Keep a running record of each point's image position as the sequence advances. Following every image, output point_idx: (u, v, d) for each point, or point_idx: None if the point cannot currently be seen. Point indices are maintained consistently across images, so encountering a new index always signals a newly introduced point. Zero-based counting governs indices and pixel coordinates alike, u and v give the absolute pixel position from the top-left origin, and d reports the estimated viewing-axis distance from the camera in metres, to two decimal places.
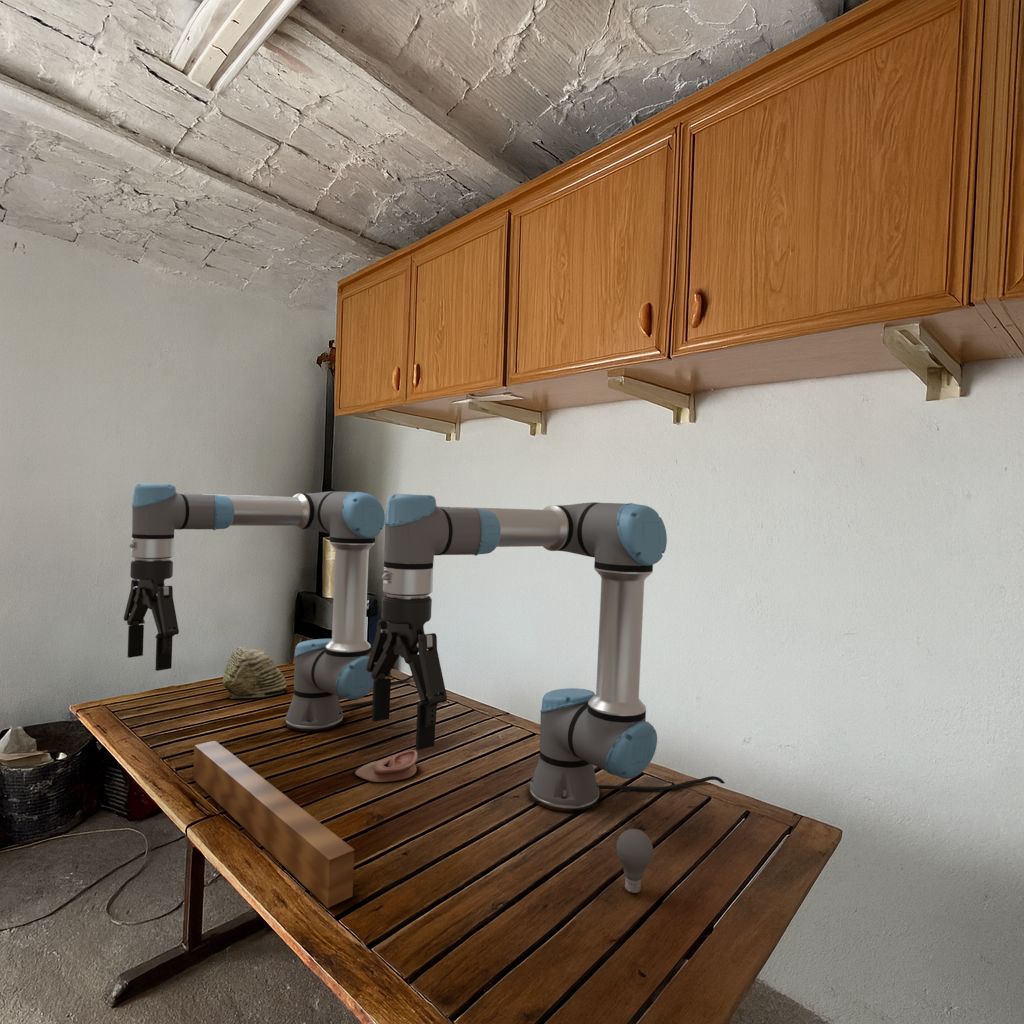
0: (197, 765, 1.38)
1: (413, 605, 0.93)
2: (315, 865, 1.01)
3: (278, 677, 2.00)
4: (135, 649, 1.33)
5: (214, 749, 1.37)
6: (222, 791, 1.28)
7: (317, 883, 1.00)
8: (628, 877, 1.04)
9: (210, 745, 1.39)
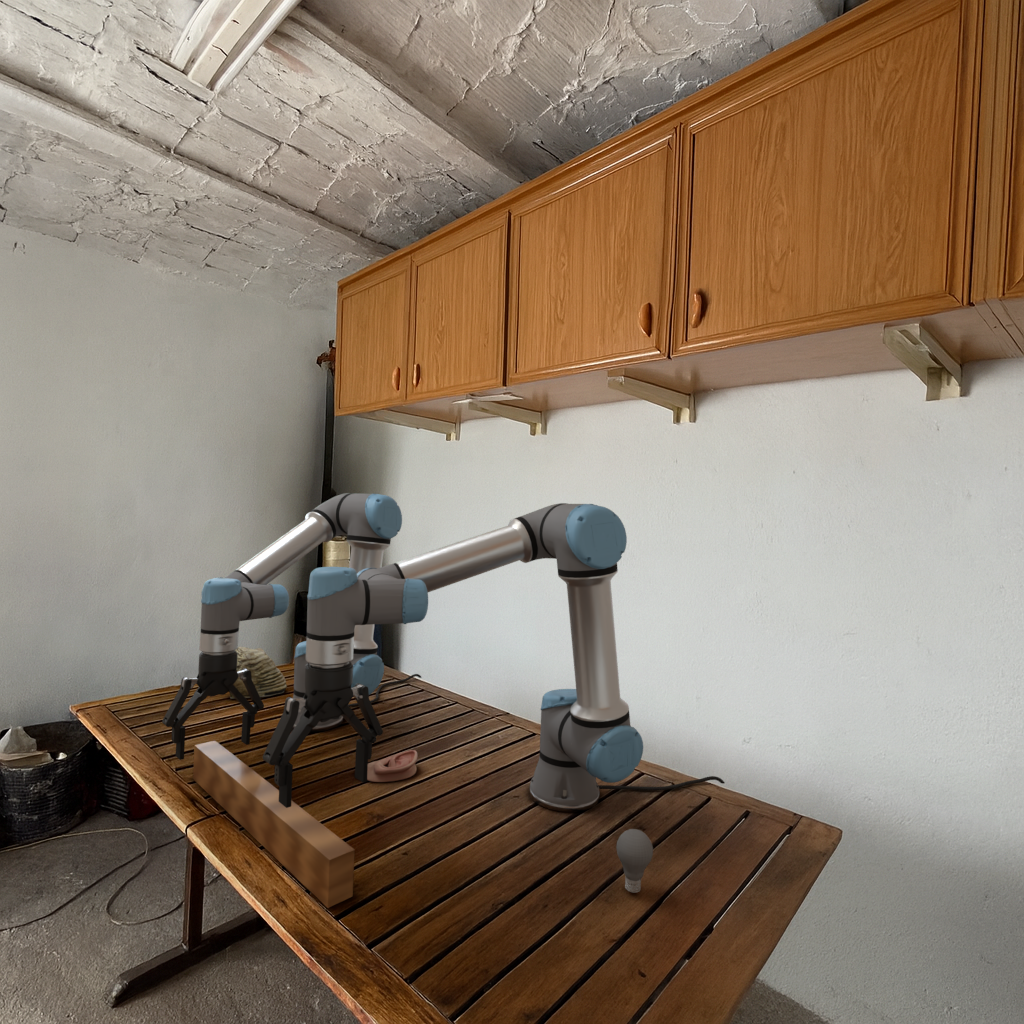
0: (197, 765, 1.38)
1: None
2: (315, 865, 1.01)
3: (278, 677, 2.00)
4: None
5: (214, 749, 1.37)
6: (222, 791, 1.28)
7: (317, 883, 1.00)
8: (628, 877, 1.04)
9: (210, 745, 1.39)
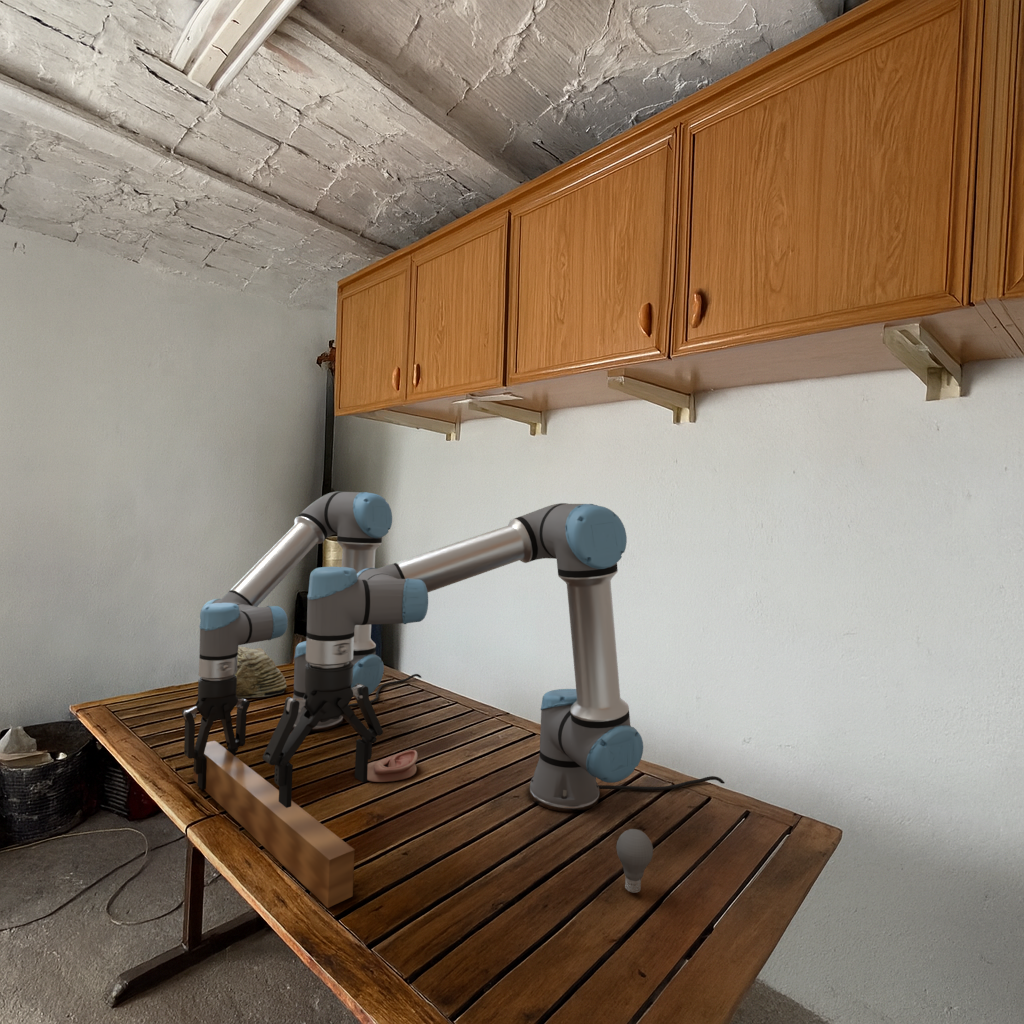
0: None
1: None
2: (315, 865, 1.01)
3: (278, 677, 2.00)
4: None
5: (214, 749, 1.37)
6: (222, 791, 1.28)
7: (317, 883, 1.00)
8: (628, 877, 1.04)
9: (210, 745, 1.39)
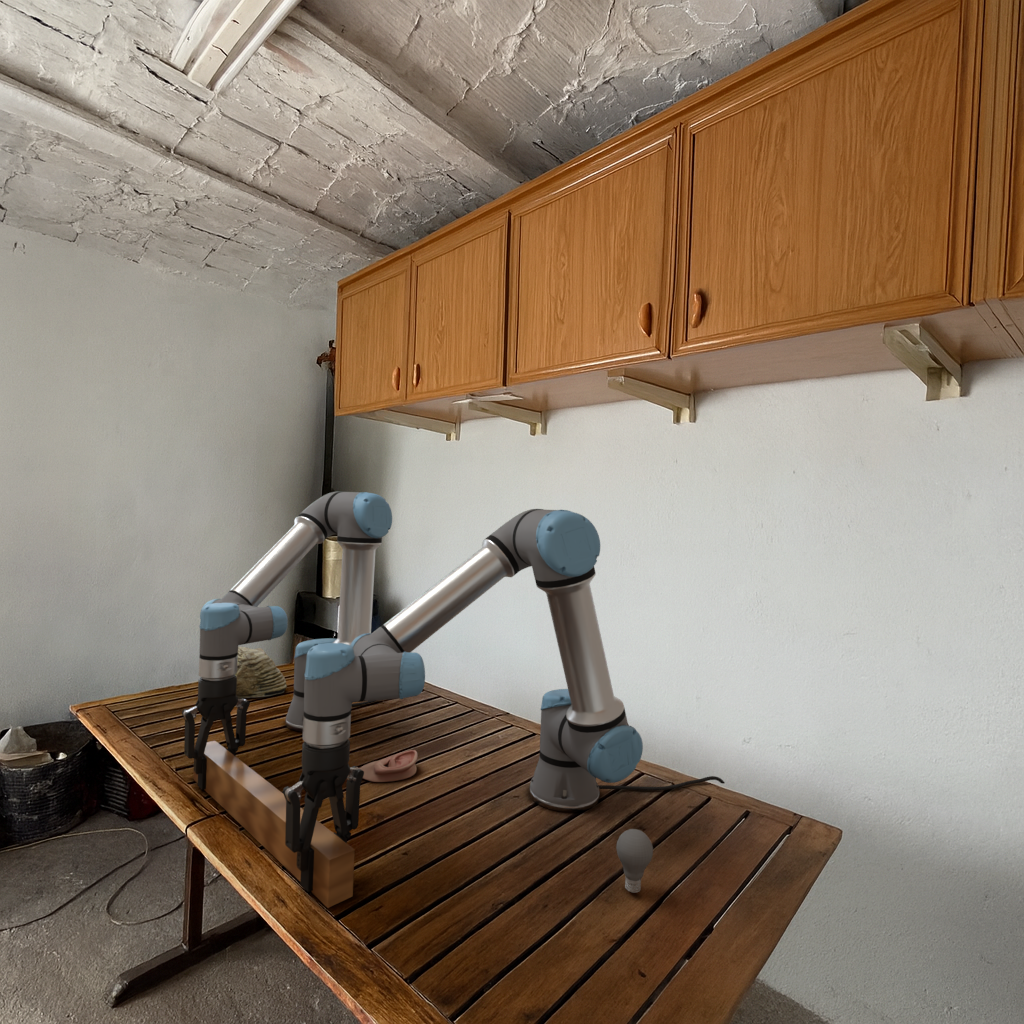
0: None
1: None
2: (315, 865, 1.01)
3: (278, 677, 2.00)
4: None
5: (214, 749, 1.37)
6: (222, 791, 1.28)
7: (317, 883, 1.00)
8: (628, 877, 1.04)
9: (210, 745, 1.39)
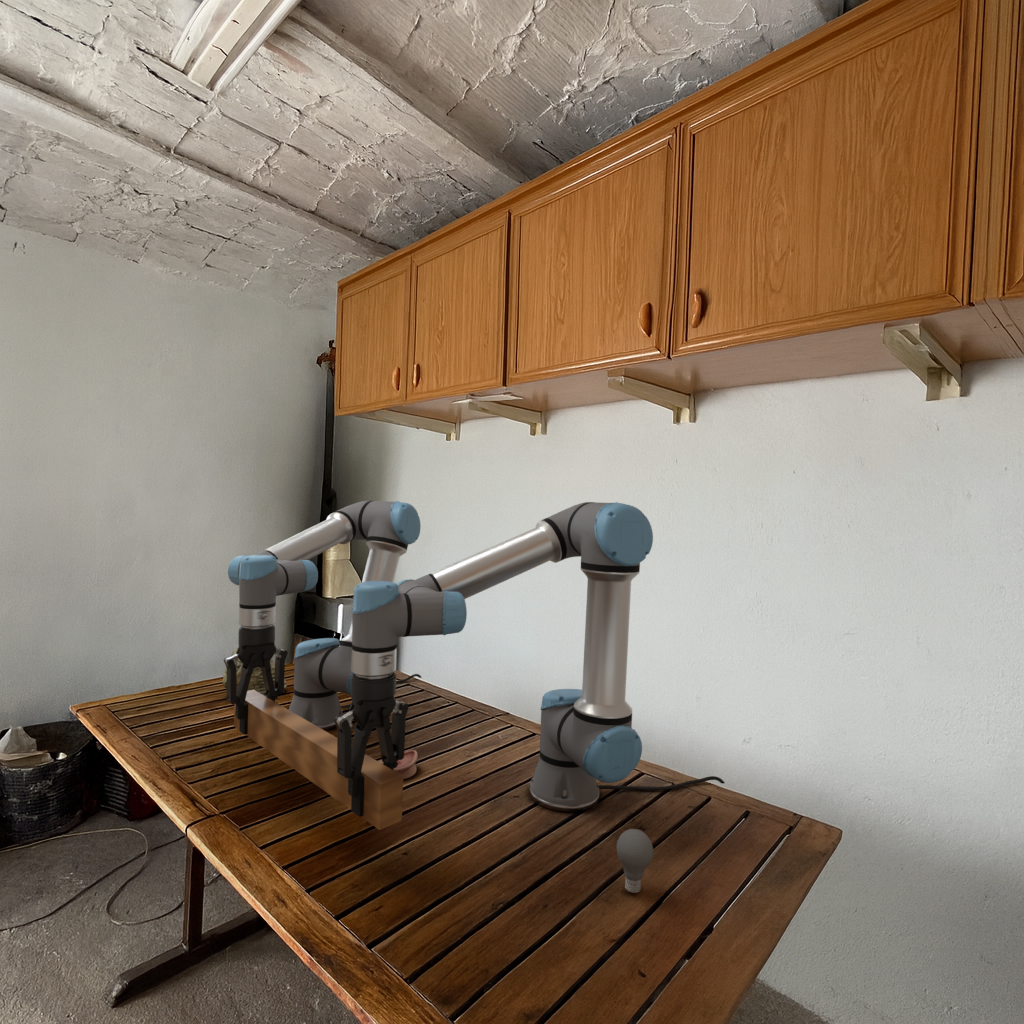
0: None
1: None
2: (366, 791, 1.05)
3: None
4: None
5: (254, 696, 1.42)
6: (265, 734, 1.32)
7: (368, 807, 1.05)
8: (628, 877, 1.04)
9: (250, 694, 1.43)
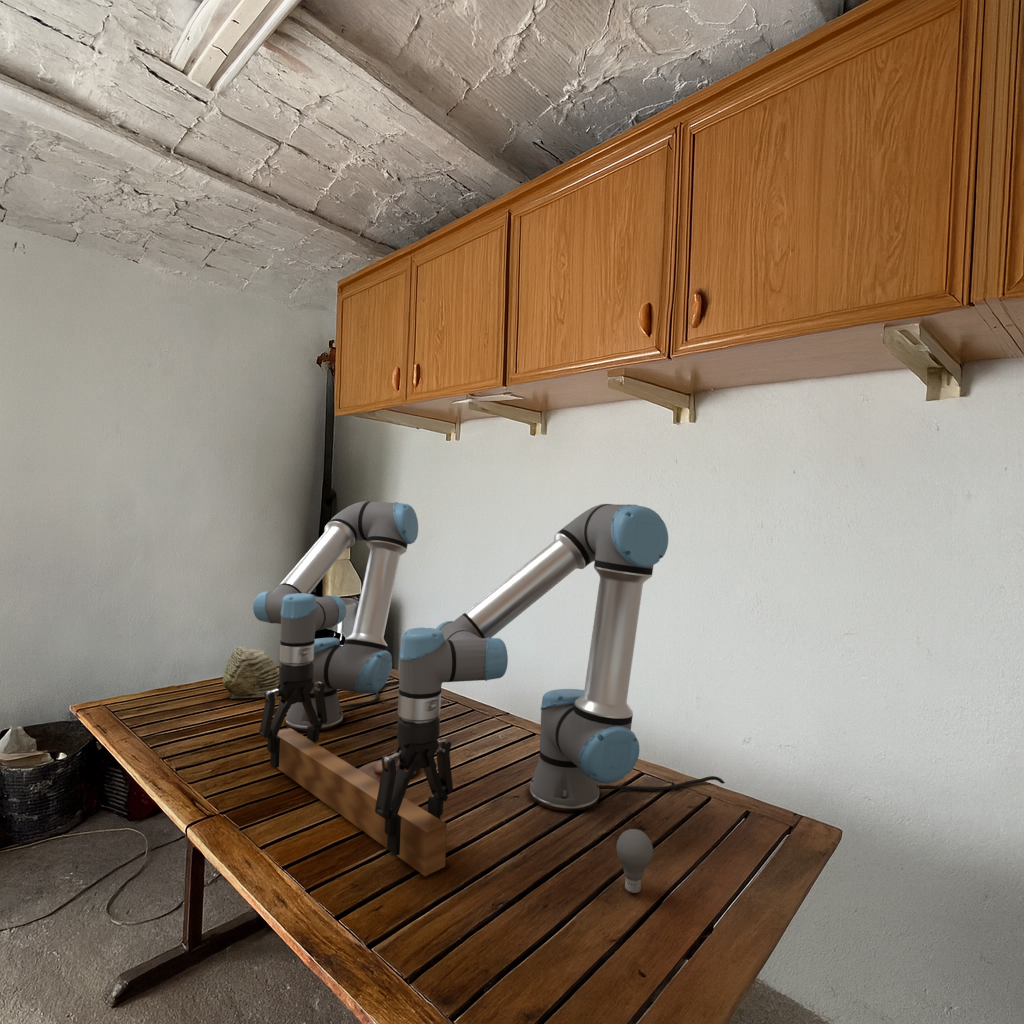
0: None
1: None
2: (411, 838, 1.10)
3: (278, 677, 2.00)
4: None
5: (292, 735, 1.47)
6: (305, 774, 1.37)
7: (413, 854, 1.10)
8: (628, 877, 1.04)
9: (288, 732, 1.48)
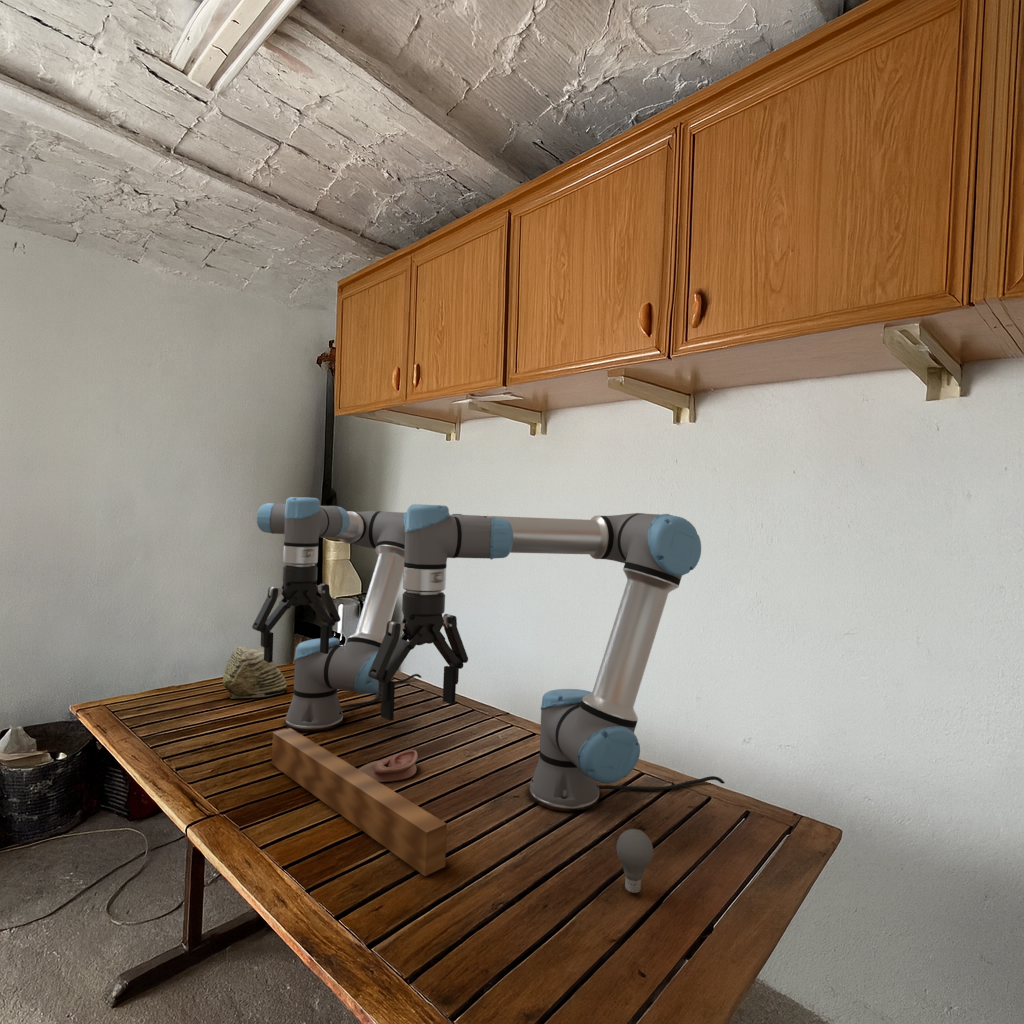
0: (276, 751, 1.47)
1: None
2: (411, 838, 1.10)
3: (278, 677, 2.00)
4: None
5: (292, 735, 1.47)
6: (305, 774, 1.37)
7: (413, 854, 1.10)
8: (628, 877, 1.04)
9: (288, 732, 1.48)
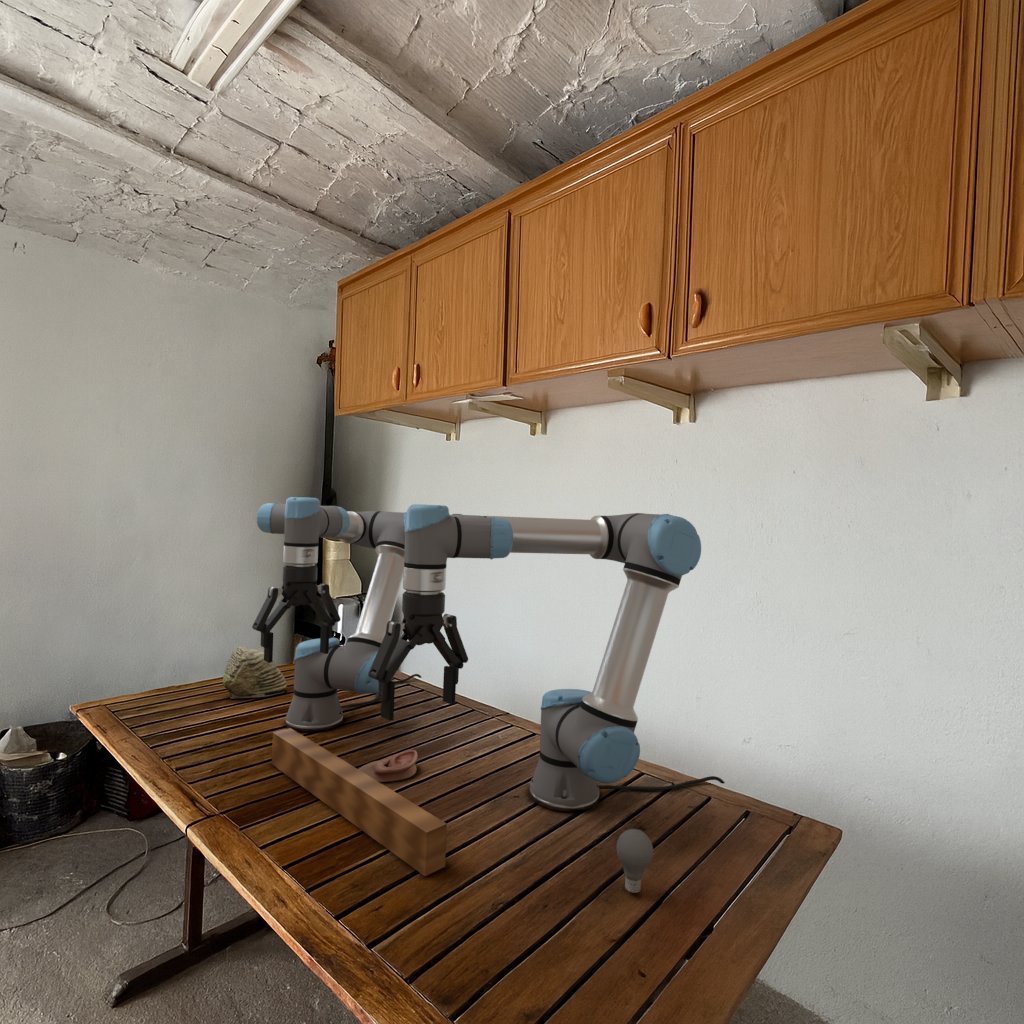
0: (276, 751, 1.47)
1: None
2: (411, 838, 1.10)
3: (278, 677, 2.00)
4: None
5: (292, 735, 1.47)
6: (305, 774, 1.37)
7: (413, 854, 1.10)
8: (628, 877, 1.04)
9: (288, 732, 1.48)
